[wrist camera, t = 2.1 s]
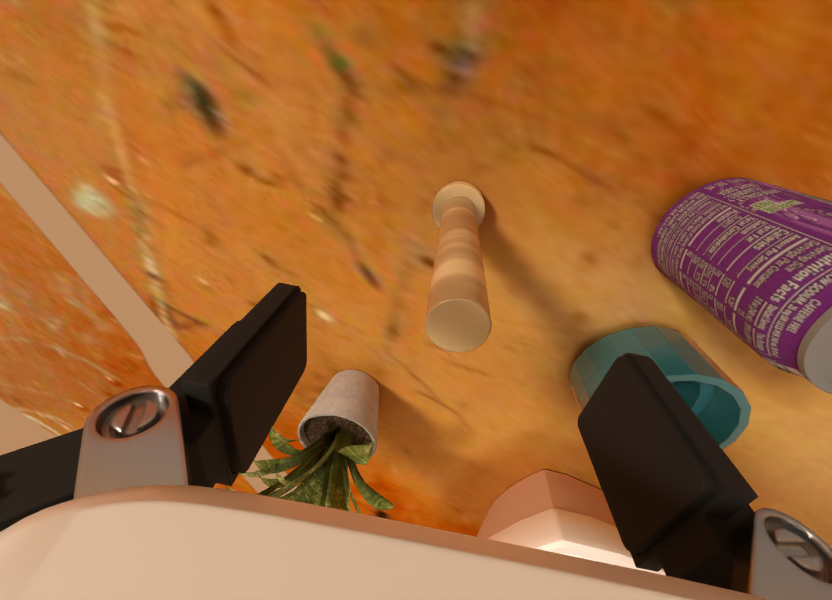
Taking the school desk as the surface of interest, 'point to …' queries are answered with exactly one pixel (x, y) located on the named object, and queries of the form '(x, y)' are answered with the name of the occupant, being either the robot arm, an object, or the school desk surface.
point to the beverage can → (757, 268)
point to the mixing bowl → (669, 376)
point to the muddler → (458, 271)
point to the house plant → (329, 447)
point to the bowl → (557, 519)
